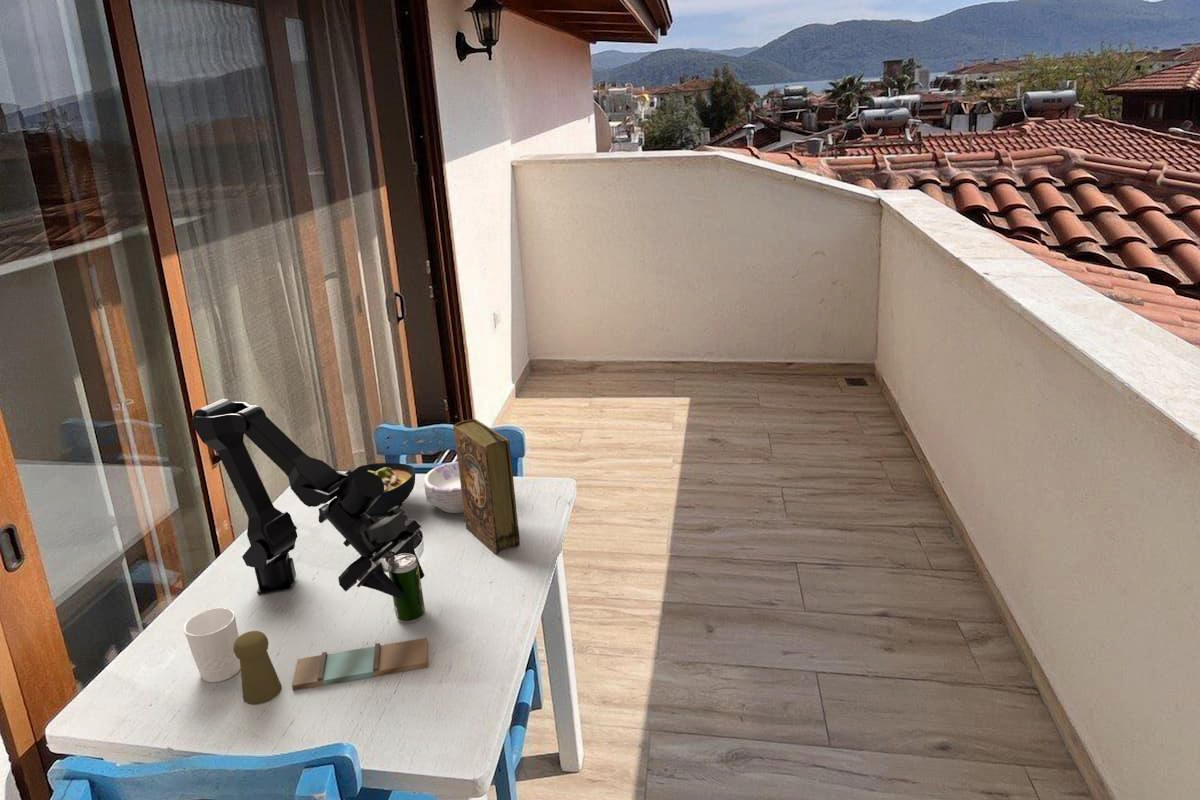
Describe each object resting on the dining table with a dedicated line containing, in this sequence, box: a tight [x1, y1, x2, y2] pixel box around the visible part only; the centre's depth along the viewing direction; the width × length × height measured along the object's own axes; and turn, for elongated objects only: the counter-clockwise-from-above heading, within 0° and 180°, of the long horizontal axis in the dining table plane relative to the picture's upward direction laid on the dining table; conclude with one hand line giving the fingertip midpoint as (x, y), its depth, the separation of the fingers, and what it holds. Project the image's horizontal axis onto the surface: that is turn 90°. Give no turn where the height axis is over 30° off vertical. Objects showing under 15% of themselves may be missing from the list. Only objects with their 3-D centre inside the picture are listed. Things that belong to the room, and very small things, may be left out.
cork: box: [234, 630, 283, 706], centre depth 133 cm, size 6×6×11 cm
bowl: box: [344, 462, 416, 518], centre depth 193 cm, size 17×17×10 cm
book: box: [452, 418, 521, 555], centre depth 175 cm, size 16×6×25 cm, turn 34°
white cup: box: [183, 607, 241, 683], centre depth 140 cm, size 8×8×10 cm
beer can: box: [387, 553, 426, 624], centre depth 151 cm, size 5×5×12 cm
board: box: [291, 637, 429, 691], centre depth 140 cm, size 22×7×2 cm, turn 101°
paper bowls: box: [423, 461, 464, 514], centre depth 193 cm, size 15×15×8 cm
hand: (412, 587), depth 150 cm, fingers open, 6 cm apart
